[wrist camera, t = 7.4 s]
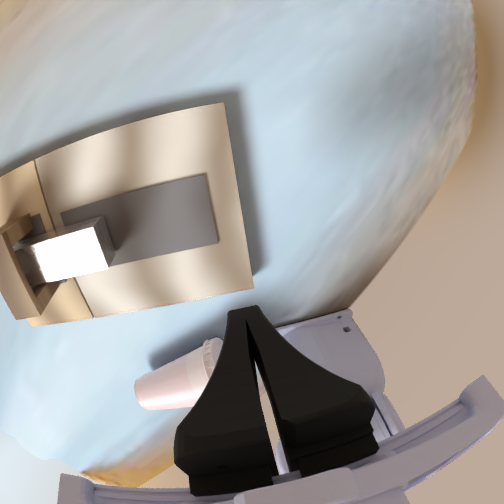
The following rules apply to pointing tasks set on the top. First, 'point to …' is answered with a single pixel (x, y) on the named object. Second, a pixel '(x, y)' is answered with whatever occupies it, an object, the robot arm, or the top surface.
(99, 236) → the brushed metal block
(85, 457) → the top surface
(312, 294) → the top surface
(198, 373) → the smoothie
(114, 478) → the top surface
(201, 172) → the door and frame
